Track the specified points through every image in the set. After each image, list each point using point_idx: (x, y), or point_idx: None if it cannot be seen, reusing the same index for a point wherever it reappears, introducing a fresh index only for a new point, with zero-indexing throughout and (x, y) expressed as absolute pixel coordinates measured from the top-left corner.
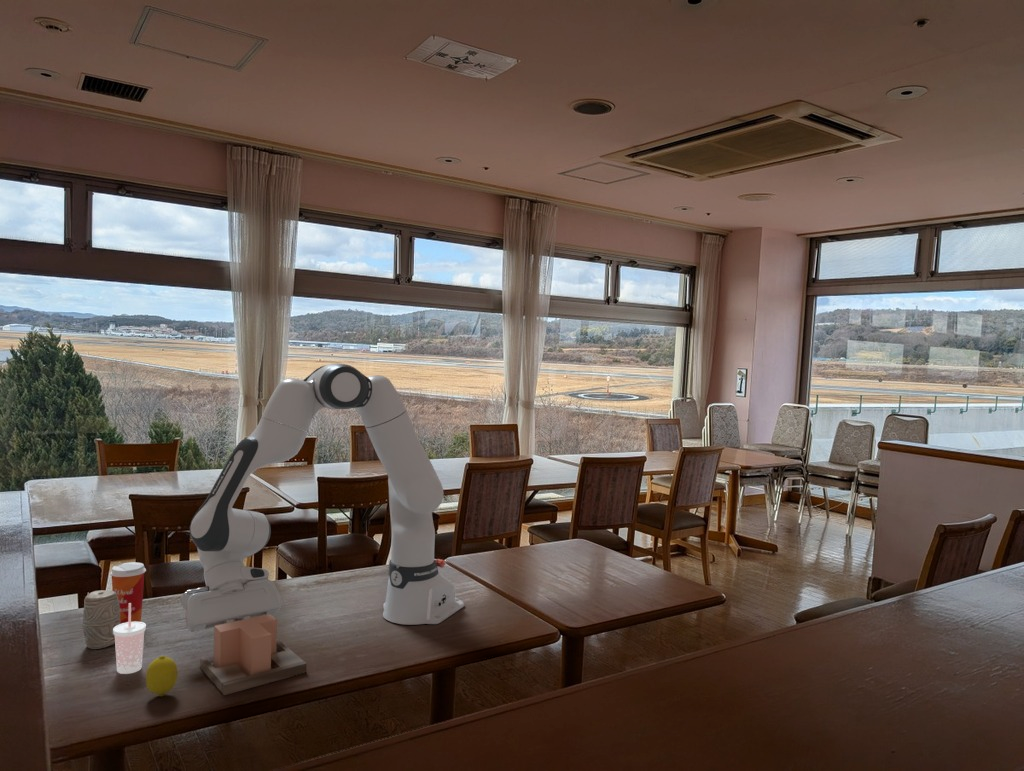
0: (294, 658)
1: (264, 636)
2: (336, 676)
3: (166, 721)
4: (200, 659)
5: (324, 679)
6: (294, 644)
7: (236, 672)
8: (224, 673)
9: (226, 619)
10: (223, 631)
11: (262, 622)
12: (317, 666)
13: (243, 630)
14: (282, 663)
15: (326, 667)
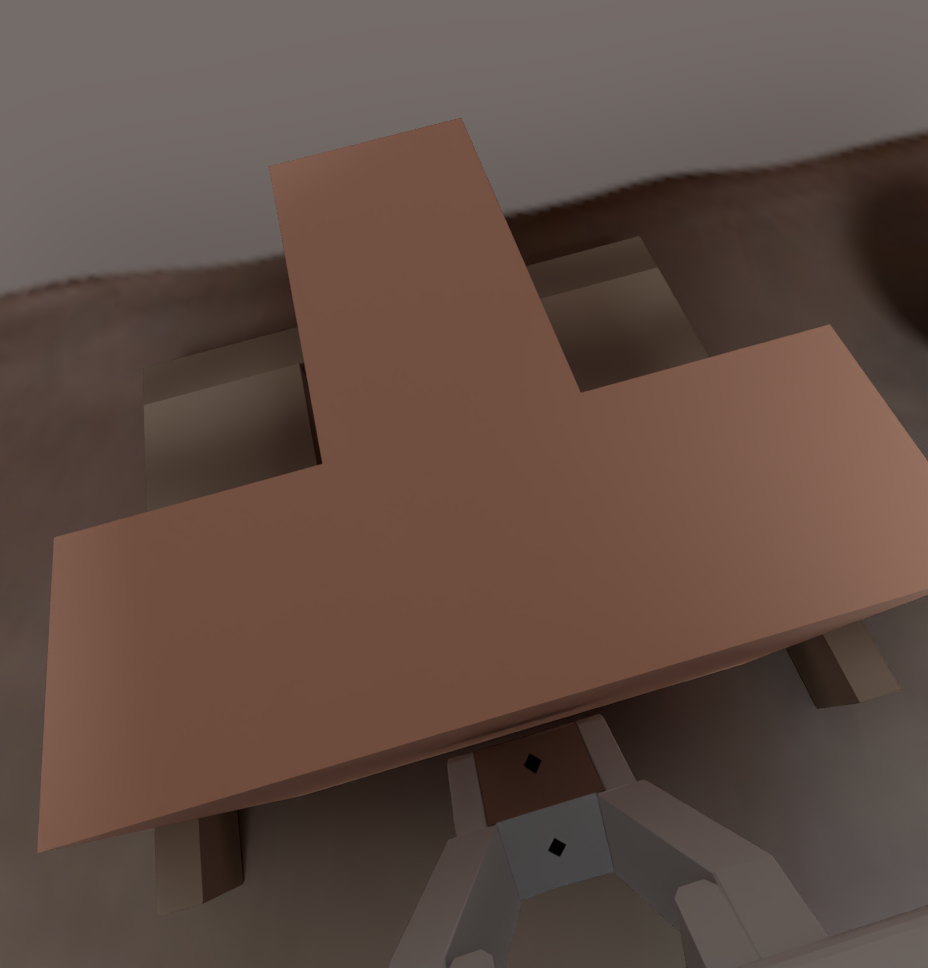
0: (180, 454)
1: (340, 156)
2: (62, 325)
3: (863, 144)
4: (891, 679)
5: (127, 312)
6: (50, 936)
7: (573, 362)
8: (651, 369)
9: (851, 933)
10: (792, 337)
11: (266, 488)
12: (87, 459)
13: (537, 304)
14: (275, 404)
15: (51, 433)
